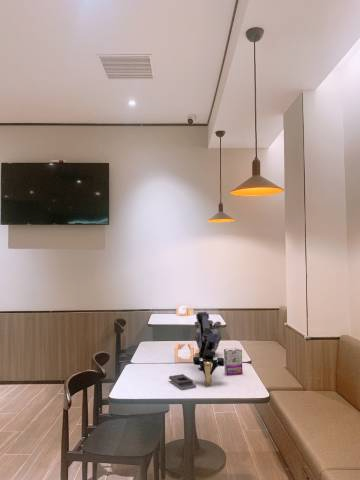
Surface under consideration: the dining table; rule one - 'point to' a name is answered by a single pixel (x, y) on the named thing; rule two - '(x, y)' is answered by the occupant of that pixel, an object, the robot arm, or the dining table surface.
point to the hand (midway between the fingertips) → (207, 374)
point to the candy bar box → (233, 361)
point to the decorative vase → (215, 330)
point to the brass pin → (207, 373)
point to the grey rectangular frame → (182, 382)
